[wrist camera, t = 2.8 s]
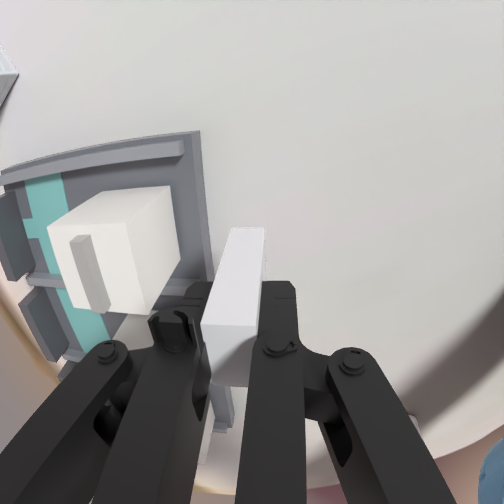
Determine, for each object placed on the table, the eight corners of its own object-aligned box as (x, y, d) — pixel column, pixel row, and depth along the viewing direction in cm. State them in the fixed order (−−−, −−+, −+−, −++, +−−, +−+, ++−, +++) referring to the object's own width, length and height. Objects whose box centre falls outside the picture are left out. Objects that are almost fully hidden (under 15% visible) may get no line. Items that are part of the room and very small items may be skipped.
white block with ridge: (190, 312, 22) (163, 382, 16) (200, 358, 24) (181, 425, 18) (131, 308, 22) (93, 370, 16) (146, 353, 25) (119, 413, 19)
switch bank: (199, 130, 18) (174, 139, 14) (234, 414, 32) (228, 449, 28) (15, 164, 20) (-24, 181, 16) (102, 393, 34) (88, 421, 29)
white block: (169, 185, 18) (117, 230, 12) (180, 258, 20) (142, 325, 14) (101, 191, 18) (37, 233, 12) (116, 258, 20) (67, 315, 14)
